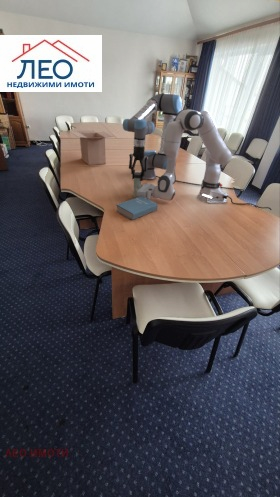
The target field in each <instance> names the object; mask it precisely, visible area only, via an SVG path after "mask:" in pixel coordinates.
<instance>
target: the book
mask: <svg viewBox="0 0 280 497" xmlns="http://www.w3.org/2000/svg"><path fill="white" fill-rule="evenodd" d="M158 206H159V205H158V203H157V202H155V201H153V200H151V199H147V198H144V197H142V196H140V197H133V198H131V199H128V200H125V201H123V202H120V203H116V208H117V209H116V212H117V213H119V214H120V215H122V216H124V217H125V218H127V219H129V220H131V221H133V220H136V219H138V218H141V217H143V216H146V215H148V214H150V213H153V212H155V211H157V210H158Z"/></svg>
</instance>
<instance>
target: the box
mask: <svg viewBox="0 0 280 497" xmlns="http://www.w3.org/2000/svg"><path fill="white" fill-rule="evenodd" d="M70 133H71V134H72V135H74V136H75V137H77V138H79V144H80V153H81V160H83V162H85V163H86V165H87V166H95V165H97V166H98V165H106V163H107V162H106V158H107V157H106V138H113V137H114V136H113V135H111V134H109V133H108V132H105V131H98V132H96V131H95V130H92V129H91V130H77V132H76V131H70Z"/></svg>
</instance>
